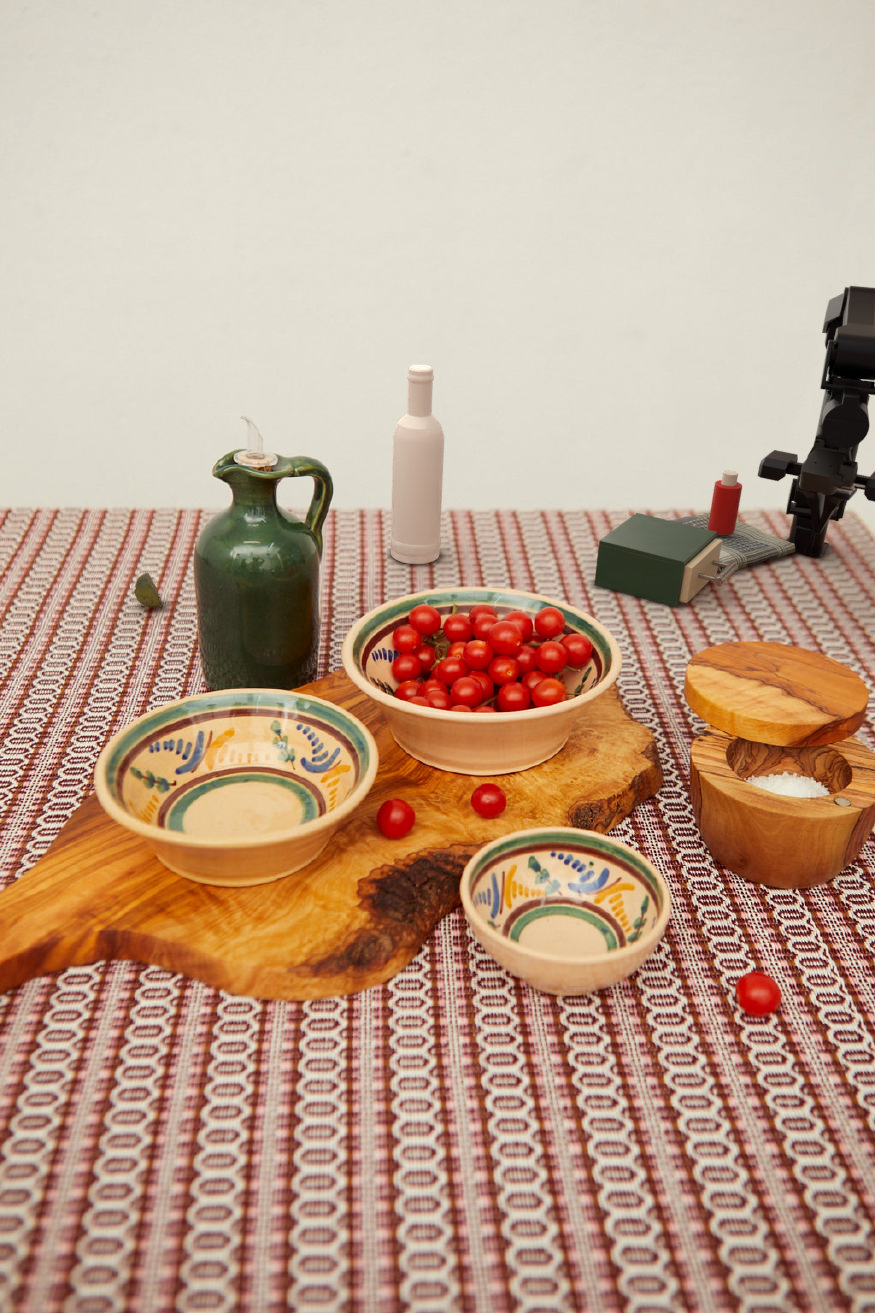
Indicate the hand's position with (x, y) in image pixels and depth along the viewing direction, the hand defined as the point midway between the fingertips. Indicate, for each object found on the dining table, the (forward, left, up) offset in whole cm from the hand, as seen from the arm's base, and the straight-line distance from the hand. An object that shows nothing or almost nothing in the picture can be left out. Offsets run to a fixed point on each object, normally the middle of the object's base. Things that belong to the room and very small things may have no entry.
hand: (817, 533), depth 158 cm
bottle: (+18, -57, -12) cm, 61 cm away
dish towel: (-16, -18, -12) cm, 27 cm away
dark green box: (+4, -22, -12) cm, 25 cm away
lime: (+56, -77, -12) cm, 96 cm away
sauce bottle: (-16, -18, -9) cm, 26 cm away
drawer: (+4, -18, -11) cm, 22 cm away
